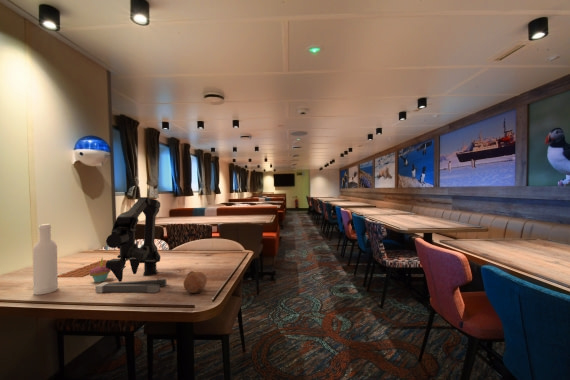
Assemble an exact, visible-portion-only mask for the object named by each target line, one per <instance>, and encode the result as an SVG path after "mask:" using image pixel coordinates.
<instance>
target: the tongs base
mask: <svg viewBox="0 0 570 380" xmlns="http://www.w3.org/2000/svg"><path fill="white" fill-rule="evenodd" d="M109 283H111V282H110V281H109V282H107V281H105V282H104V281H102V283H100V284H97V285H95V287H94V288H95V291H94V292H95V293H96V294H97V293H99V294H100V293H101V294H102V293H105V292H107V293H111V292H113V293H115V292H116V293H118V292H119V293H120V292H121V293H131V292H133V293H135V292H136V293H137V292H138V293H144V292H146V293H151V294H152V293H156V294H157V293H158V292H160V290H161V289H160V287H161V286H160V284H109Z"/></svg>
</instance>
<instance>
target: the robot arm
mask: <svg viewBox="0 0 570 380" xmlns="http://www.w3.org/2000/svg"><path fill="white" fill-rule="evenodd" d="M160 208H161V202H160V201H159V200H158V199H154V198H151V197H148V196H140V197H138V198H137V201H136V202H135V203H134V204H133V205H132V206H131V207H130V209H128V210H127V211H124V212H122V213H121V214H119V215H118V216H117V217H116V219H115V221H114V224H113V227H112V229H111V231H110V232H111V234H110V235H108V236H107V238H106V240H105V241H106V242H105V243H106V245H107V246H108V248H111V249H119V254H118V255H116V256H117V258H112V259H108V260H109V261H107V262H106V268H108V269H110V270H111V271H110V272H111V273H112V274H113V275H114V276H115V278H116V280H118V281H117V282H123V277H124V276H123V274H124V269H125V268H126V267H127V266H126V262H128V261H129V263H130V269H131V271H132V273H133V275H137V272H138V269H139V265H140V264H143V266H144V267H143V269H144V271H143V277H145V276H150V275H151V276H152V275H157V274H158V269H157V263H159V262H161V255H160V253H159V252H158V246H157V245H156V244H155V235H156V234H155V233H156V232H155V231H156V216H157V215H158V214H159V212H160ZM142 213H143V214H144V216H145V219H144V220H145V221H144V234H143V235H144V238H143V244H142V245H141V246H140V247H139V244H138V243H136V234H135V233H136V231H137V228H136V227H137V224H138V223H139V220H140V219H139V217H140V215H142Z"/></svg>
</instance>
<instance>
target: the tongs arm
mask: <svg viewBox="0 0 570 380" xmlns="http://www.w3.org/2000/svg"><path fill="white" fill-rule="evenodd" d="M167 283H168V282H167V278H158V279H148V280H146V279H145V280H132V281H131V280H130V281H121V282H119V281H117V282H110V283H109V284H160V287H166V285H167Z"/></svg>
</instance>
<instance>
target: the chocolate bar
mask: <svg viewBox="0 0 570 380" xmlns="http://www.w3.org/2000/svg"><path fill="white" fill-rule="evenodd" d="M109 260H110V259H103V262H102V266H106V262H107V261H109ZM98 266H101V260H98V261H95V262H93V263H90V264H87V265H84V266H81V267H78V268H76V269H74V270H70V271H68V272H64V273H61V274H59V275H58V274H57V276H58V278H78V279H79V278H84V277H86V276H90V274H89V272H90V271H91V270H92V269H93V268H95V267H98Z"/></svg>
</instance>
